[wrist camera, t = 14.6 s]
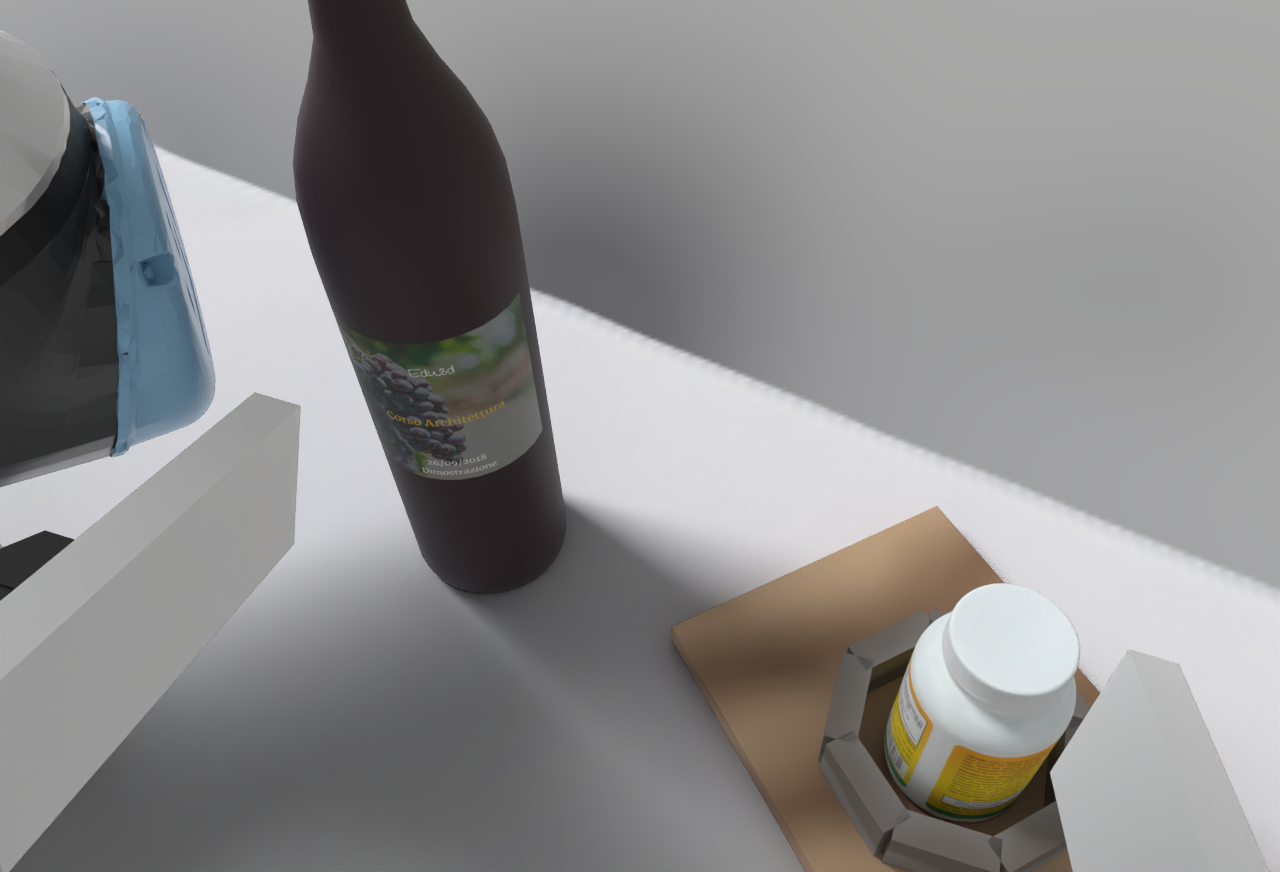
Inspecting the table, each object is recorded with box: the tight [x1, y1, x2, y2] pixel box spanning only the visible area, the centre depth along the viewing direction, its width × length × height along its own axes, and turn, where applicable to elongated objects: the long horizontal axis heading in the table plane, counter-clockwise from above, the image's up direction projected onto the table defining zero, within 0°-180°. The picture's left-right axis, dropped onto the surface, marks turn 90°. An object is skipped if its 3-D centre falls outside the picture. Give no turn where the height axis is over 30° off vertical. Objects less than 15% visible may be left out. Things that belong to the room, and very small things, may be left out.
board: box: [672, 506, 1100, 872], centre depth 38 cm, size 20×14×4 cm
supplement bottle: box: [884, 583, 1080, 822], centre depth 34 cm, size 5×5×10 cm
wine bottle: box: [293, 0, 566, 593], centre depth 36 cm, size 7×7×30 cm
